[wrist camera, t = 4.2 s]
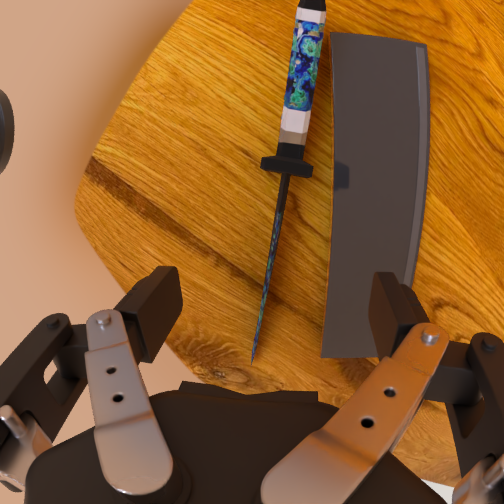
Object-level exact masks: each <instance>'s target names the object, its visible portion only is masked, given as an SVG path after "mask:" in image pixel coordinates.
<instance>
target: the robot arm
mask: <svg viewBox="0 0 504 504" xmlns="http://www.w3.org/2000/svg"><path fill="white" fill-rule="evenodd" d="M182 306H183V299H182V293H181V287H180V281H179V274H178V270H177V268H176V267H175V266H157V267H156V269H155V270H154V271H153V272H152V273H151V274H150V275H149V276H147V277H145V278H143V279H142V280H140V281H138V282H137V283H136V284H135V285H134V286H133V287H132V290H130V291H129V292H128V293H127V295H125V296H124V297H123V299H122V300H121V301H120V302H119V303H118V304H117V305H116V306H115V308H114V309H113V310H112V309H111V310H110V309H108V310H102V311H99V312H97V313H95V314H93V315H92V316H90V317H89V318H88V320H87V322H86V324H78V325H71V323H70V320H69V317H68V316H67V315H66V314H63V313H56V314H52V315H50V316H47V317H46V318H44V319H43V320H42V321H41V322H40V323H39V324H38V325H37V326H36V327H35V328H34V329H33V330H32V331H31V332H30V333H29V334H28V335H27V337H26V338H25V339H24V340H23V341H22V342H21V343H20V344H19V345H18V346H17V348H16V349H15V350H14V351H13V352H12V353H11V354H10V355H9V357H8V358H7V359H6V360H5V361H4V362H3V364H2V365H1V366H0V482H1V483H2V484H3V485H5V486H6V487H7V488H8V489H9V490H11V491H13V492H22V491H24V492H25V499H24V504H447V503H446V501H445V500H444V499H443V498H442V497H441V496H440V495H439V494H437V493H436V492H435V491H434V490H433V489H431V488H430V487H429V486H428V485H427V484H426V483H424V482H423V481H422V480H421V479H420V478H419V477H418V476H416V475H415V474H414V473H413V472H412V471H411V470H410V469H408V468H407V467H406V466H405V465H404V464H403V463H402V462H401V461H399V460H398V459H397V458H396V457H395V456H394V455H393V454H392V453H393V451H394V450H395V448H396V447H397V445H398V443H399V442H400V440H401V438H402V437H403V435H404V434H405V432H406V430H407V429H408V427H409V425H410V424H411V422H412V421H413V419H414V417H415V415H416V414H417V412H418V410H419V409H420V407H421V405H422V403H423V401H424V399H425V400H431V401H437V402H444V403H445V406H446V409H447V413H448V417H449V421H450V425H451V429H452V433H453V437H454V442H455V446H456V451H457V456H458V461H459V466H460V471H461V477H462V479H461V480H460V481H459V482H458V483H457V485H456V486H455V488H454V491H453V495H452V504H504V343H503V341H502V340H501V339H500V338H498V337H497V336H495V335H493V334H490V333H485V332H481V333H477V334H475V335H474V336H473V337H472V339H471V342H470V344H466V343H459V342H454V341H450V340H449V335H448V333H447V332H446V331H445V330H444V329H443V328H442V327H440V326H438V325H435V324H432V323H431V322H430V321H429V319H428V317H427V315H426V313H425V311H424V309H423V307H422V306H421V304H420V302H419V300H417V296H416V294H415V293H414V291H413V290H412V289H411V288H409V287H408V286H407V285H406V284H399V282H398V280H397V278H396V276H395V274H394V272H375V273H374V276H373V282H372V288H371V295H370V301H369V308H368V318H369V323H370V327H371V330H372V334H373V338H374V342H375V346H376V350H377V354H378V358H379V362H380V363H379V364H378V365H377V366H376V368H375V369H374V370H373V371H372V372H371V374H370V375H369V376H368V377H367V378H366V380H365V381H364V382H363V383H362V384H361V386H360V387H359V388H358V389H357V390H356V391H355V393H354V394H353V395H352V396H351V397H350V398H349V399H348V400H347V402H346V403H345V404H344V405H343V406H342V407H341V408H340V409H339V408H337V407H335V406H332V405H330V404H326V403H323V402H319V401H318V391H285V390H283V391H276V392H268V393H260V394H252V395H245V394H241V393H238V392H235V391H231V390H228V389H225V388H222V387H219V386H216V385H211V384H203V383H195V382H188V381H182V383H181V385H180V387H179V390H172V391H166V392H162V393H158V394H156V395H152V396H150V397H149V395H148V392H147V390H146V387H145V384H144V381H143V379H142V376H141V373H140V370H139V368H138V365H139V363H140V362H145V363H152V362H153V361H154V359H155V357H156V355H157V354H158V352H159V350H160V348H161V347H162V345H163V343H164V341H165V340H166V338H167V336H168V334H169V333H170V331H171V329H172V327H173V326H174V324H175V322H176V320H177V319H178V317H179V315H180V314H181V311H182ZM52 360H53V362H54V364H55V365H56V367H57V371H56V372H55V374H54V375H53V376H52V378H51V379H50V381H49V382H48V383H47V385H46V383H45V381H44V371H45V369H46V368H47V366H48V365H49V364H50V362H51V361H52ZM87 384H88V386H89V392H90V398H91V404H92V410H93V415H94V421H95V426H94V427H92V428H90V429H88V430H86V431H84V432H82V433H80V434H78V435H76V436H74V437H72V438H70V439H68V440H66V441H64V442H62V443H60V444H58V445H56V446H54V447H53V446H52V443H53V441H54V440H55V438H56V436H57V434H58V432H59V431H60V429H61V427H62V426H63V424H64V422H65V420H66V419H67V417H68V415H69V414H70V412H71V410H72V408H73V407H74V405H75V403H76V402H77V400H78V398H79V397H80V395H81V394H82V392H83V390H84V389H85V387H86V385H87ZM482 396H483V397H482ZM483 399H484V400H483Z"/></svg>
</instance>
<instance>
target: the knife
mask: <svg viewBox="0 0 504 504" xmlns="http://www.w3.org/2000/svg"><path fill="white" fill-rule="evenodd" d="M295 18H296V22H295V28H294V31H293V33H294V36H293V43H292V51H291V58H290V65H289V72H288V79H287V86H286V93H285V96H284V107H283V113H282V116H281V119H282V121H281V128H280V135H279V142H278V147H277V153H276V156H269V157H262V160H261V166H260V168H261V169H263V170H265V171H271V172H277V173H282V175H281V181H280V187H279V193H278V199H277V205H276V211H275V217H274V224H273V230H272V237H271V243H270V250H269V256H268V263H267V269H266V275H265V282H264V288H263V294H262V300H261V307H260V313H259V319H258V323H257V329H256V335H255V338H254V344H253V350H252V359H251V365H252V362H253V358H254V355H255V351H256V348H257V343H258V335H259V331H260V327H261V322H262V317H263V312H264V308H265V303H266V298H267V294H268V289H269V284H270V279H271V275H272V270H273V265H274V260H275V256H276V251H277V246H278V241H279V236H280V231H281V226H282V221H283V215H284V210H285V204H286V199H287V193H288V187H289V182H290V176H291V175H294V176H299V177H305V178H310V177H312V172H313V167H314V166H312V165H310V164H308V163H306V162H305V161H303V155H304V149H305V142H306V137H307V131H308V125H309V122H310V114H311V108H312V104H313V96H314V90H315V84H316V77H317V71H318V65H319V58H320V52H321V45H322V39H323V36H324V33H323V31H324V26H325V22H326V4H325V0H300V2H299V4H298V7H297V12H296V16H295Z"/></svg>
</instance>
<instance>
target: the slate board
mask: <svg viewBox="0 0 504 504" xmlns="http://www.w3.org/2000/svg"><path fill="white" fill-rule="evenodd" d="M328 48H329V65H330V87H331V129H332V164H331V207H330V231H329V249H328V265H327V279H326V291H325V303H324V314H323V324H322V333H321V342H320V357H321V358H366V357H378V354H377V350H376V346H375V342H374V338H373V334H372V330H371V327H370V323H369V318H368V308H369V301H370V295H371V288H372V282H373V276H374V273H375V272H394V274H395V276H396V278H397V280H398V282H399V284H406V285H407V286H408V287H409V288H412V284H413V279H414V274H415V268H416V263H417V258H418V252H419V246H420V239H421V233H422V226H423V218H424V210H425V201H426V191H427V180H428V167H429V148H430V85H429V66H428V54H427V45H426V44H422V43H417V42H412V41H407V40H401V39H394V38H388V37H380V36H372V35H363V34H353V33H340V32H330V33H329V36H328Z"/></svg>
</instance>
